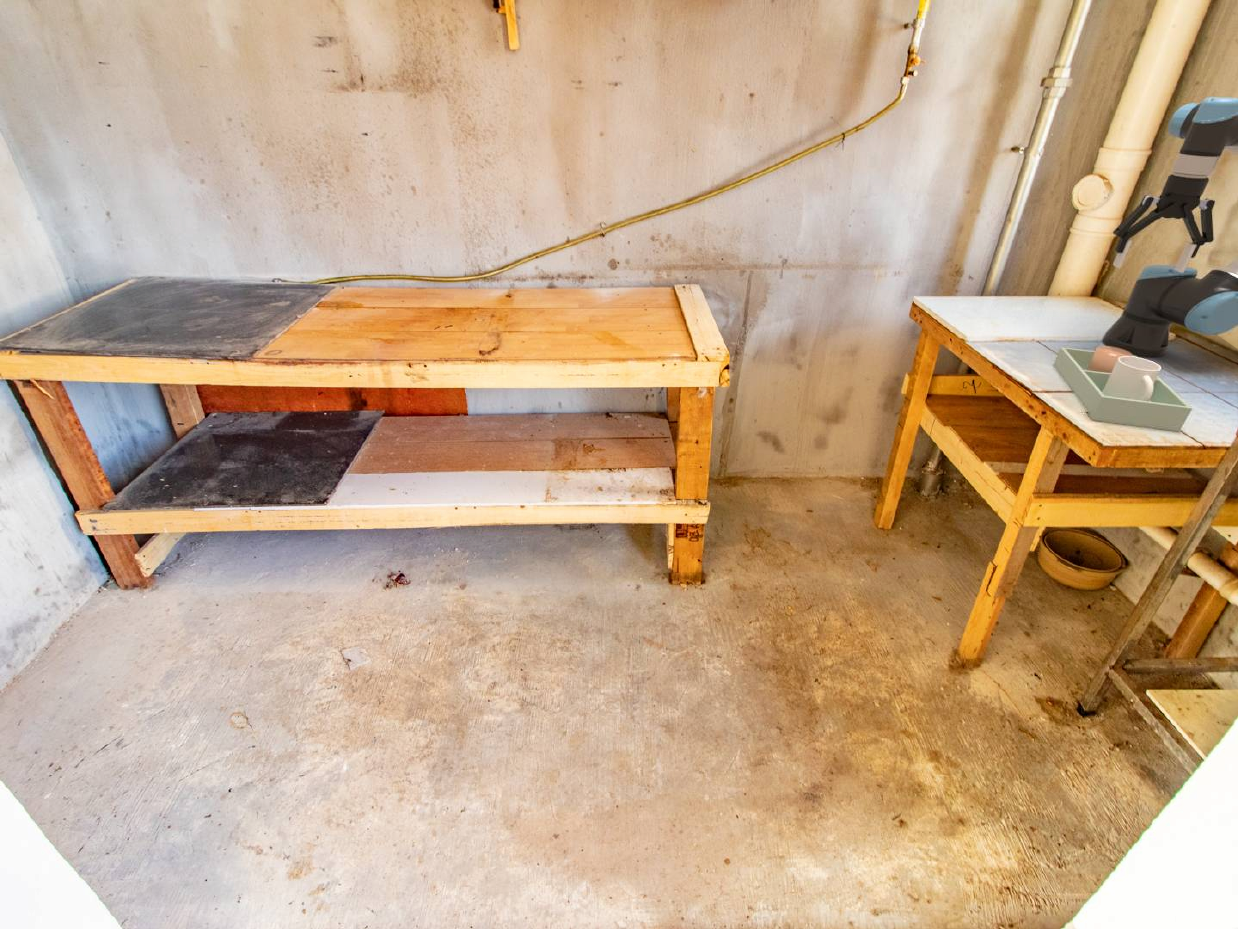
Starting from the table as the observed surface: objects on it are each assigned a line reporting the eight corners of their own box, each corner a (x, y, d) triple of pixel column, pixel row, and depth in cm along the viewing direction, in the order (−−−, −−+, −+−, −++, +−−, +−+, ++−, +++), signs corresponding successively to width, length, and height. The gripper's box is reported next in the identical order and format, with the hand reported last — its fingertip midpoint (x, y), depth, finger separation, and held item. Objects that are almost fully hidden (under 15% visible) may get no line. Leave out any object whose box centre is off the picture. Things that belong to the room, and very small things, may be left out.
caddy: (1126, 376, 169) (1136, 355, 166) (1179, 431, 144) (1192, 408, 141) (1052, 367, 173) (1060, 347, 170) (1091, 419, 148) (1102, 397, 145)
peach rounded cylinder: (1111, 377, 167) (1125, 348, 162) (1123, 389, 160) (1138, 359, 156) (1079, 373, 168) (1092, 344, 164) (1089, 385, 162) (1102, 355, 158)
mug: (1156, 420, 147) (1179, 379, 141) (1117, 417, 148) (1138, 375, 142) (1128, 397, 157) (1149, 357, 151) (1092, 394, 158) (1111, 354, 152)
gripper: (1243, 175, 149) (1197, 268, 160) (1122, 169, 154) (1085, 260, 165) (1262, 180, 143) (1213, 277, 154) (1135, 174, 147) (1096, 268, 159)
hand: (1147, 268), depth 160 cm, fingers open, 13 cm apart
